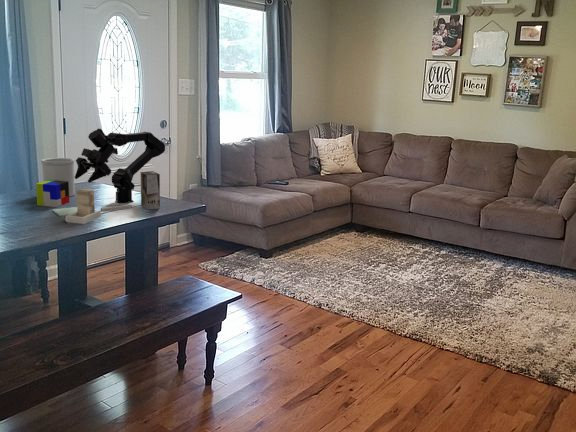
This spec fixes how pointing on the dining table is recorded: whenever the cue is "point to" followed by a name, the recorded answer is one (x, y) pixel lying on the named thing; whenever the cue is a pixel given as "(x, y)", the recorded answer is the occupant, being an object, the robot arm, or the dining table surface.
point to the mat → (65, 211)
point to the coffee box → (150, 190)
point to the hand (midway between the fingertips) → (81, 180)
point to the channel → (82, 220)
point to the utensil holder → (59, 171)
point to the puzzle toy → (52, 193)
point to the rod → (116, 207)
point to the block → (85, 202)
